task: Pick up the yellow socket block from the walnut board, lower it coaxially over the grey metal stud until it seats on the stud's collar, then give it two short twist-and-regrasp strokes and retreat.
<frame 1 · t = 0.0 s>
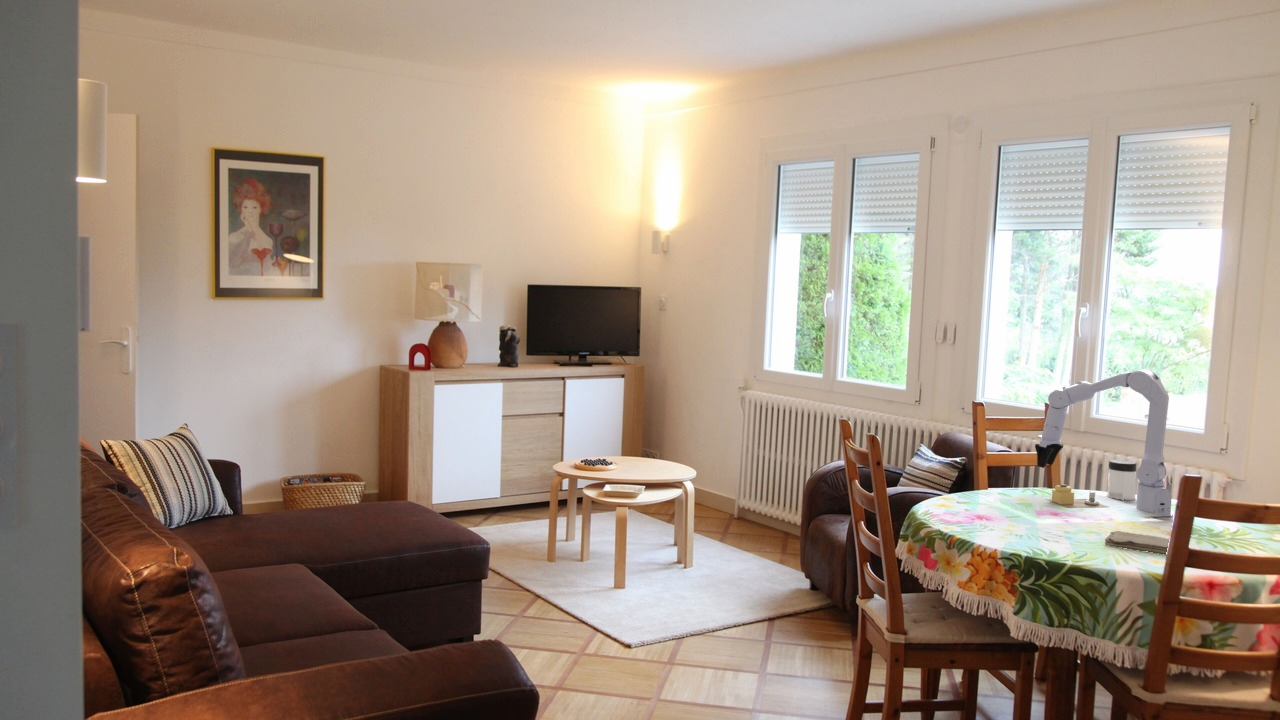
hand: (1044, 465, 313), 11 cm above the table, tool pointing down, fingers open, 7 cm apart
jar: (1120, 498, 316), on the table
washcloth: (1144, 549, 252), on the table
board: (1076, 507, 300), on the table
yellow socket block: (1062, 502, 301), point 1 cm above the table, touching board
stud: (1091, 507, 299), resting on board
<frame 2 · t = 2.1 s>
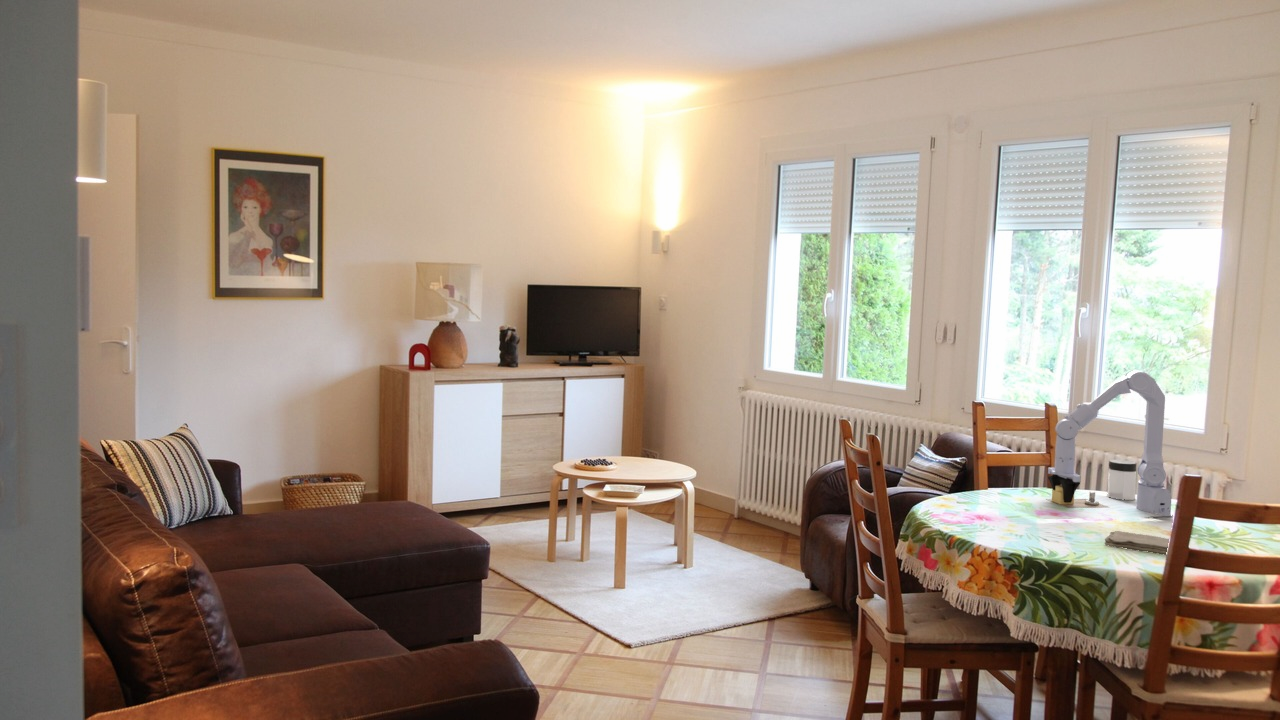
hand: (1062, 500, 300), 2 cm above the table, tool pointing down, fingers closed on yellow socket block, 5 cm apart
yellow socket block: (1062, 502, 301), point 1 cm above the table, touching board, gripper
everything else where it was.
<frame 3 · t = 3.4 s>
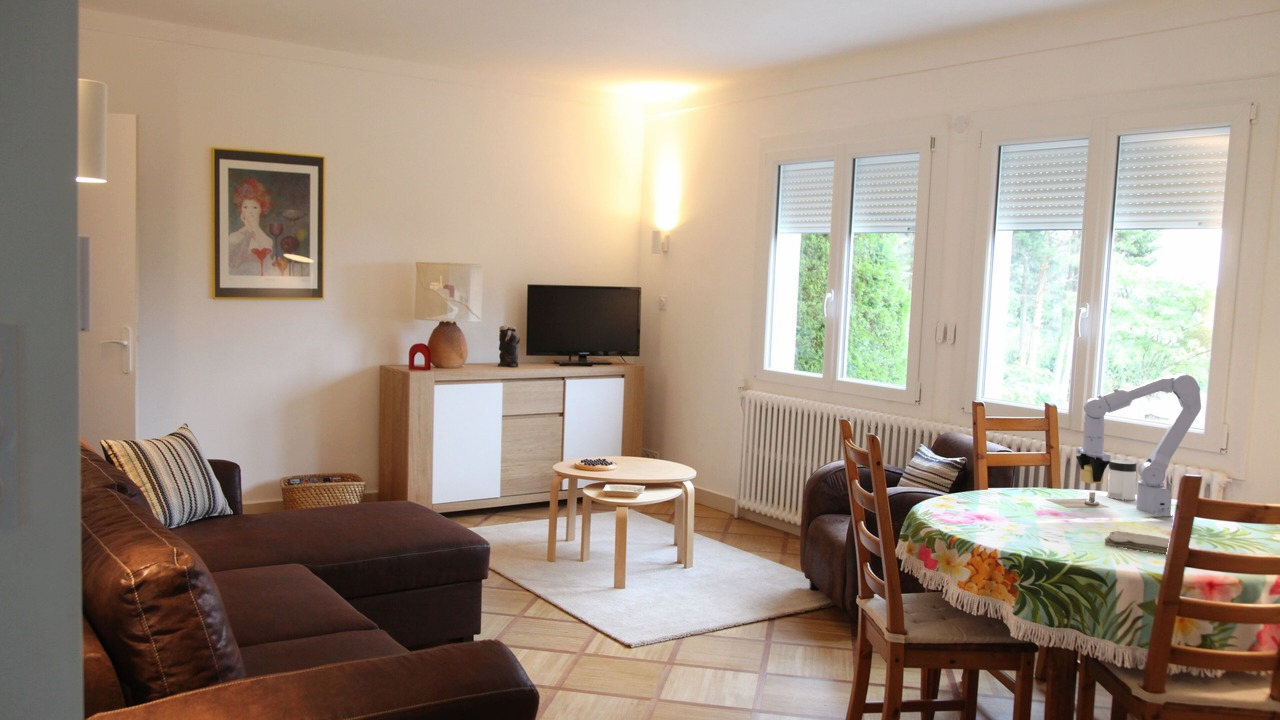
hand: (1091, 480, 298), 9 cm above the table, tool pointing down, fingers closed on yellow socket block, 5 cm apart
yellow socket block: (1091, 481, 298), point 8 cm above the table, touching gripper
everything else where it was.
when the fingers open (4 cm above the table, at t = 5.1 s): yellow socket block drops 1 cm, resting on stud.
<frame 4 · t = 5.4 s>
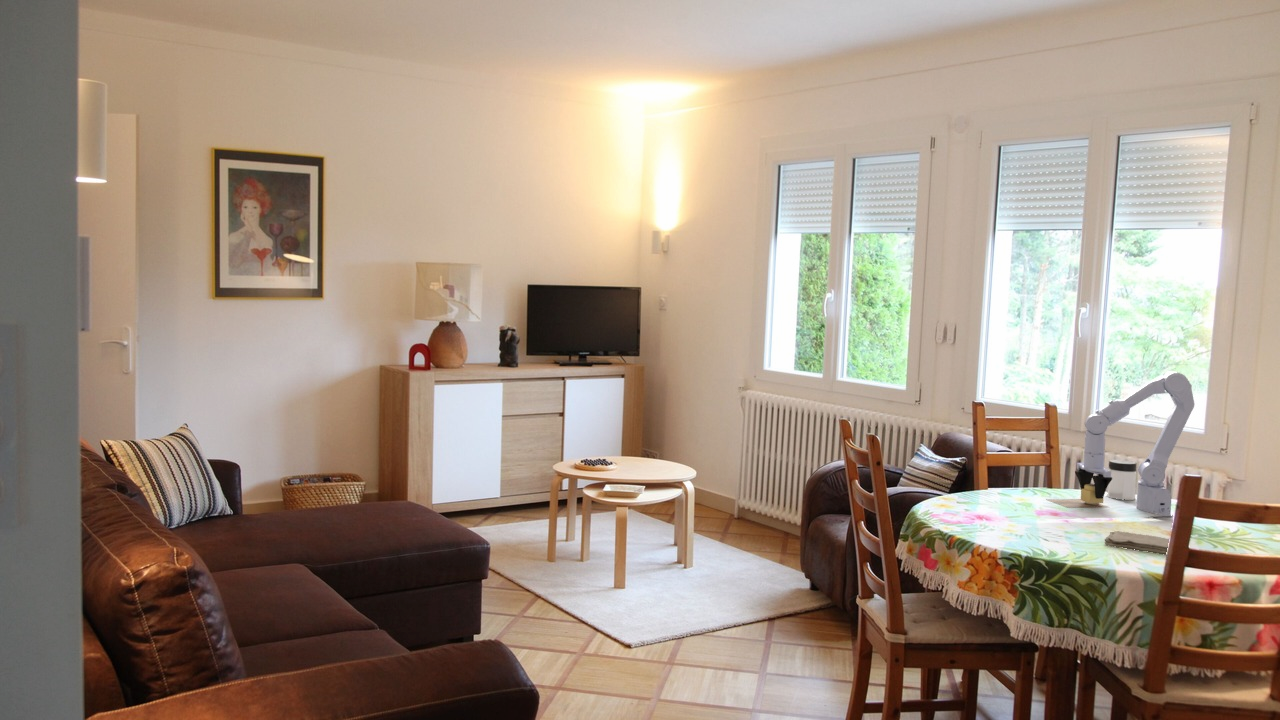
hand: (1092, 495, 299), 4 cm above the table, tool pointing down, fingers open, 7 cm apart
yellow socket block: (1091, 501, 299), point 2 cm above the table, touching stud
everything else where it was.
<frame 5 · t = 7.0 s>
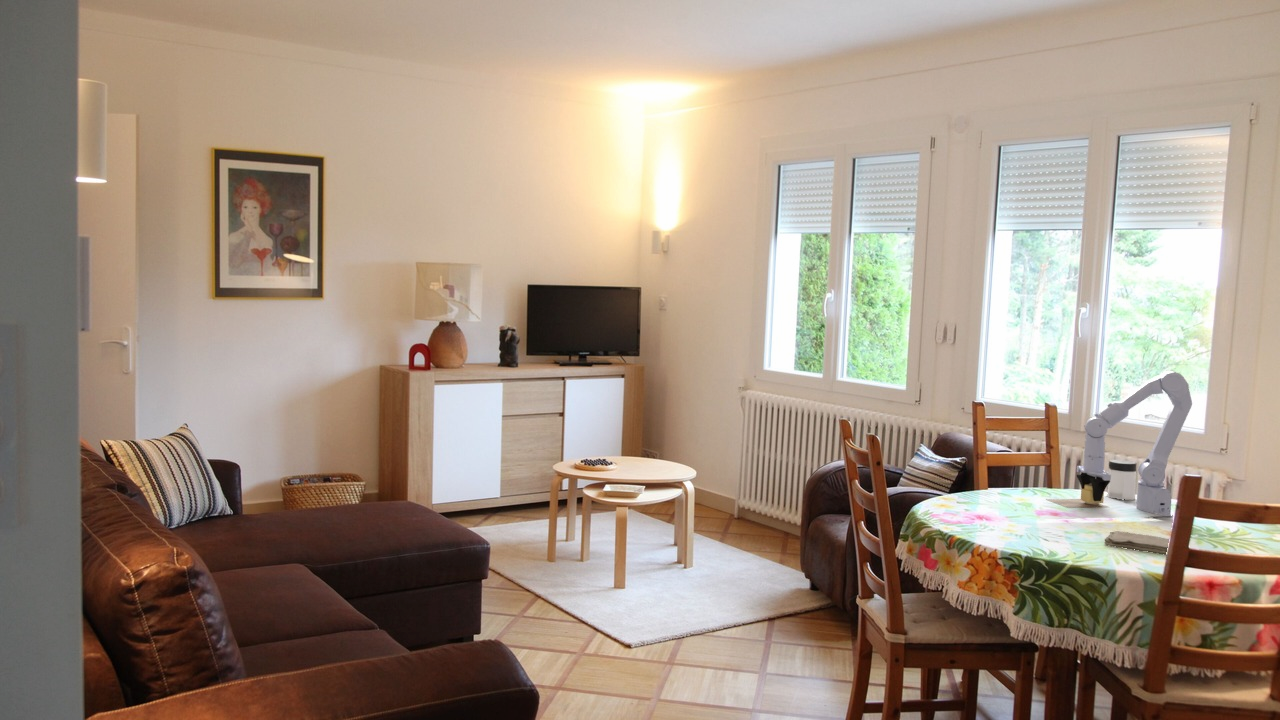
hand: (1092, 499, 299), 3 cm above the table, tool pointing down, fingers closed on yellow socket block, 5 cm apart
yellow socket block: (1091, 501, 299), point 2 cm above the table, touching gripper, stud
everything else where it was.
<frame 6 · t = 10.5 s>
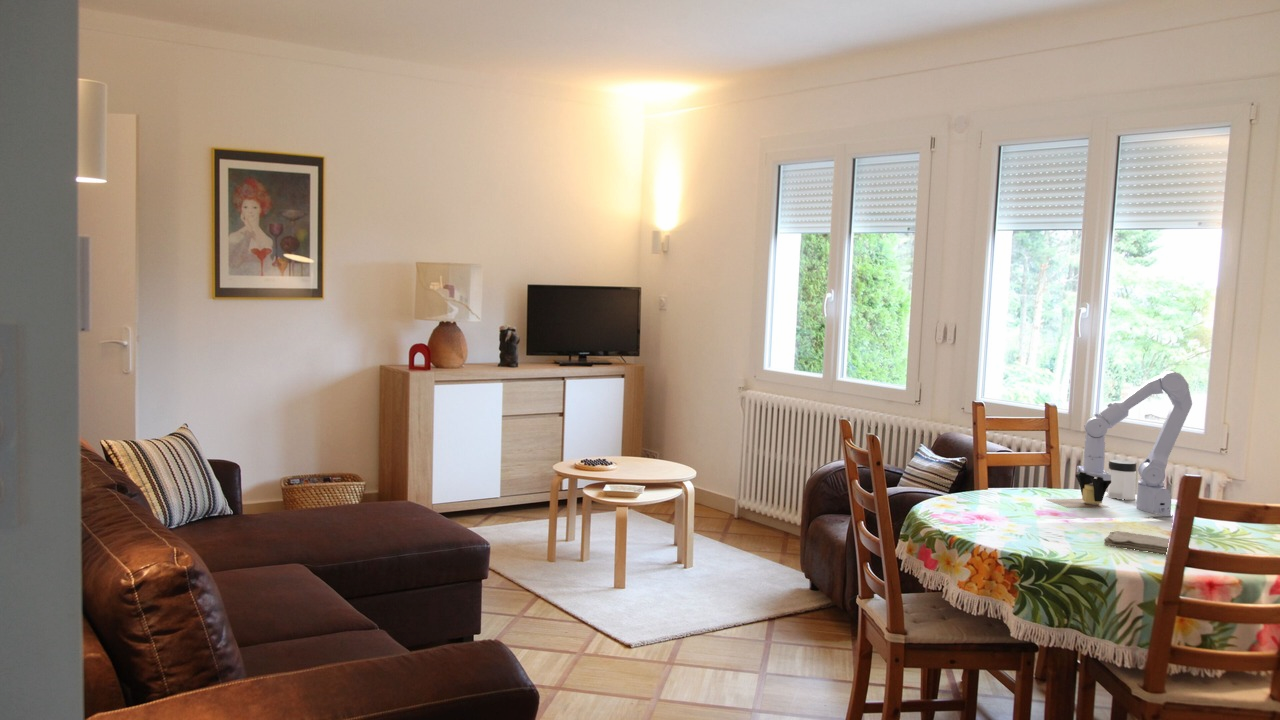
hand: (1092, 499, 299), 3 cm above the table, tool pointing down, fingers closed on yellow socket block, 6 cm apart
yellow socket block: (1091, 501, 299), point 2 cm above the table, touching gripper, stud
everything else where it was.
when the fingers open (3 cm above the table, at t = 11.9 s): yellow socket block stays where it is, resting on stud.
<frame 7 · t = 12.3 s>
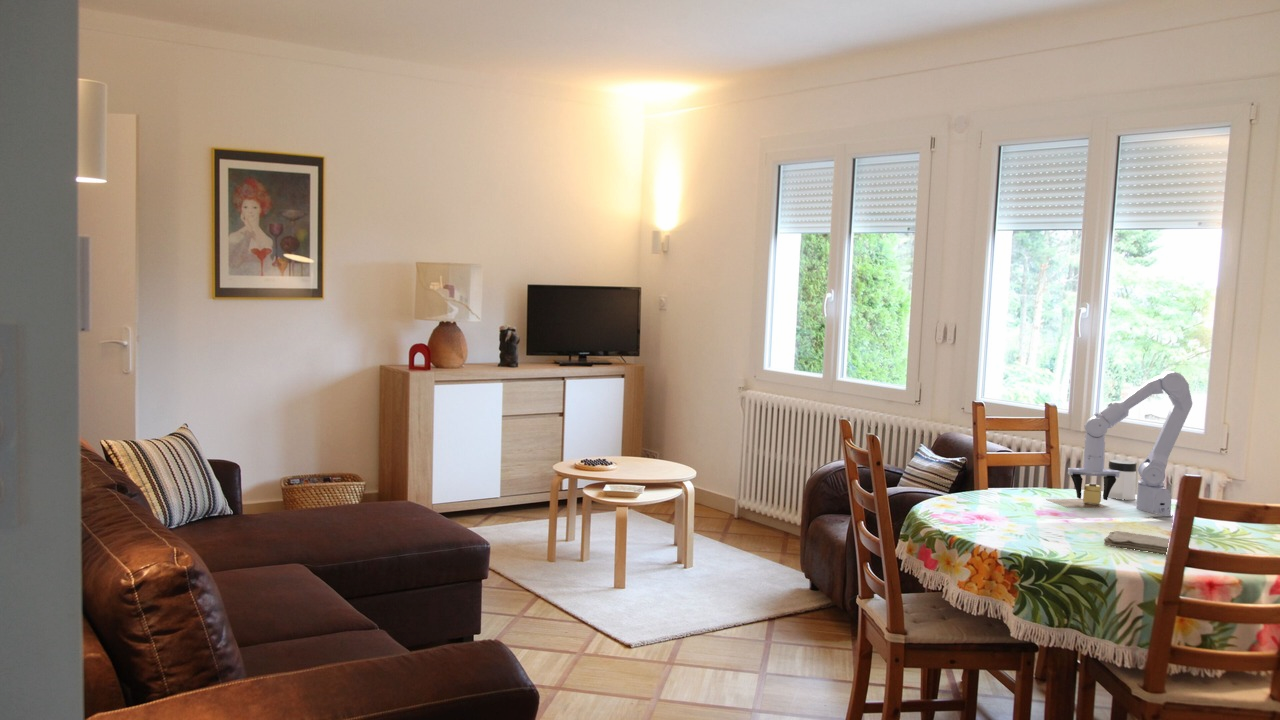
hand: (1092, 498, 299), 3 cm above the table, tool pointing down, fingers open, 7 cm apart
yellow socket block: (1091, 501, 299), point 2 cm above the table, touching stud
everything else where it was.
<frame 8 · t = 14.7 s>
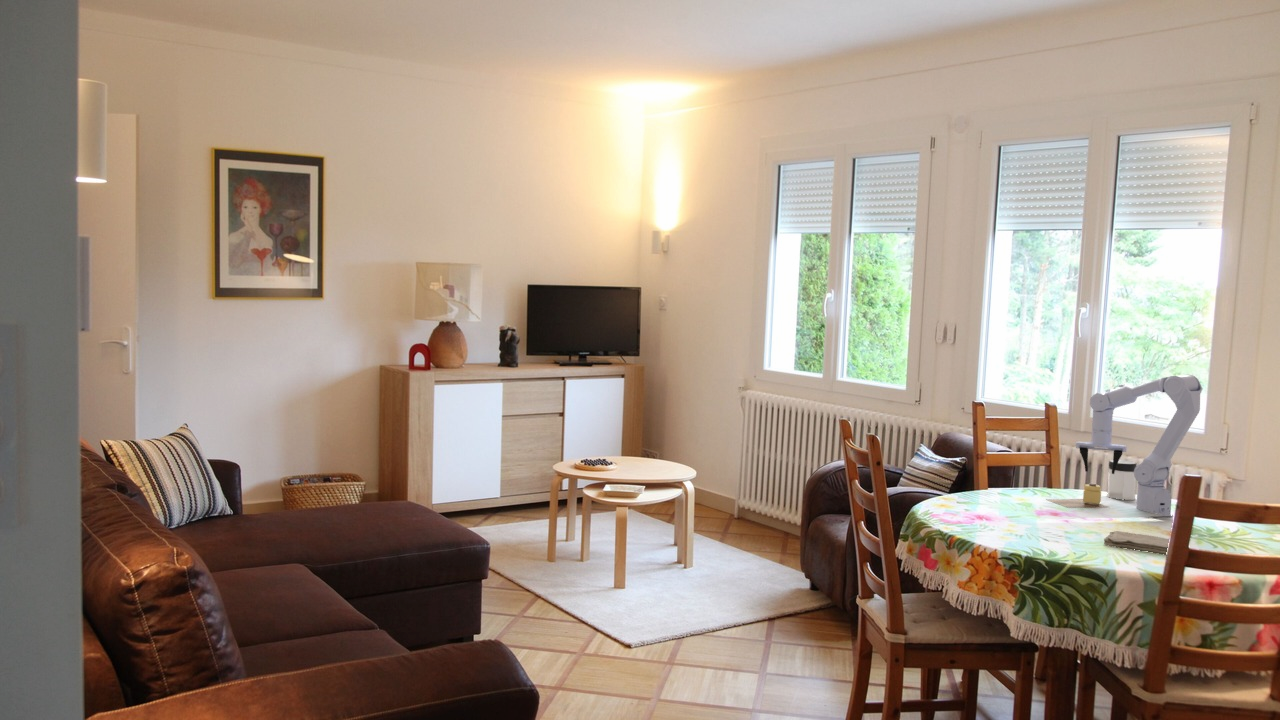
hand: (1099, 472, 306), 10 cm above the table, tool pointing down, fingers open, 7 cm apart
nothing on the table moved.
at the end: yellow socket block 0.0 cm off-centre on the stud, point 2.0 cm above the stud's base; yellow socket block tilted 0°; the gripper is holding nothing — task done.
